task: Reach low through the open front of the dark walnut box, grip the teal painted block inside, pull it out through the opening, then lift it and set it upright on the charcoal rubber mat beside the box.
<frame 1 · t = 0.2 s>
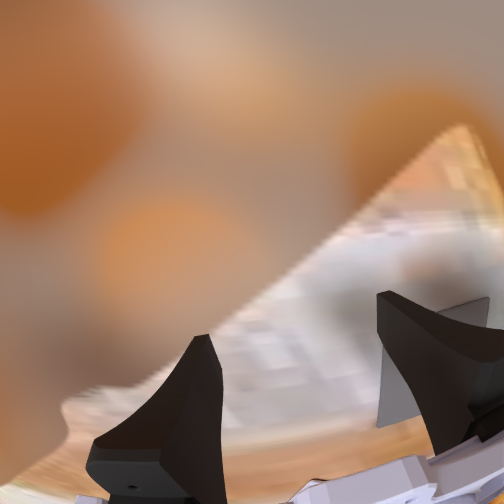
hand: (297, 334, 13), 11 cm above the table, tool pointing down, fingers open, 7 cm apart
charcoal mat: (435, 365, 26), on the table
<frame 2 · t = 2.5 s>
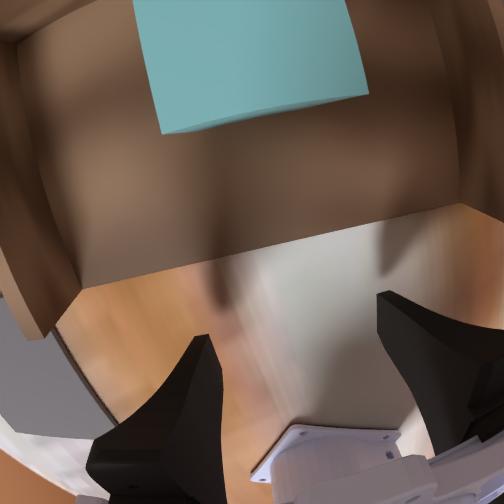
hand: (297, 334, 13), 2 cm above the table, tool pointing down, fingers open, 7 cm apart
walnut box: (241, 83, 11), on the table
teal block: (238, 68, 10), point 1 cm above the table, touching walnut box
charcoal mat: (19, 378, 16), on the table
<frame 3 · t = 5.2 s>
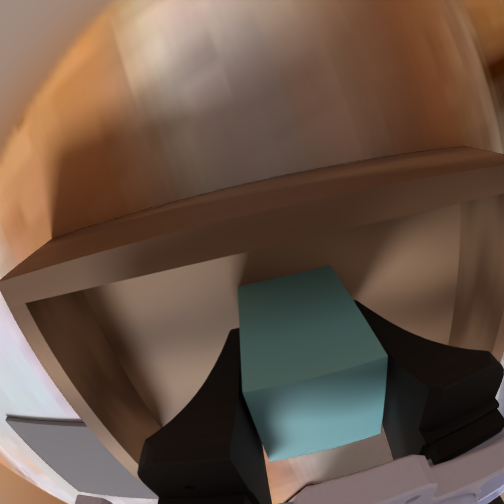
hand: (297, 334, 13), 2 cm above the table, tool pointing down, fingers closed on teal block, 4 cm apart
walnut box: (291, 316, 15), on the table
teal block: (292, 315, 14), point 1 cm above the table, touching gripper, walnut box
charcoal mat: (92, 464, 20), on the table
pen holder: (468, 490, 33), on the table
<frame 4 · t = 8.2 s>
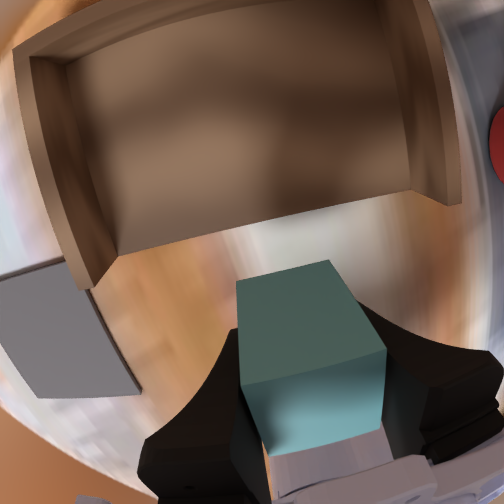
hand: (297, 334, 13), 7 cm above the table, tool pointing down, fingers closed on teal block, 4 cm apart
walnut box: (240, 104, 16), on the table
teal block: (290, 309, 14), point 6 cm above the table, touching gripper
charcoal mat: (49, 342, 21), on the table
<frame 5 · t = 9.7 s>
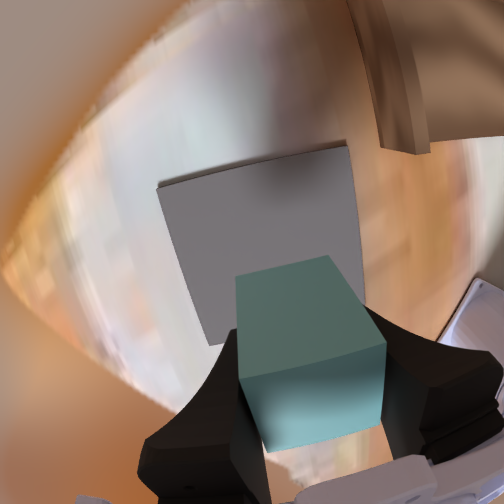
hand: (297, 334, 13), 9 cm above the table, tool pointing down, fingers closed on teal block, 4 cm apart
walnut box: (471, 55, 16), on the table
teal block: (290, 305, 14), point 7 cm above the table, touching gripper
charcoal mat: (272, 253, 21), on the table
when the fingers open (3 cm above the table, at t = 11.2 s): teal block drops 1 cm, resting on charcoal mat.
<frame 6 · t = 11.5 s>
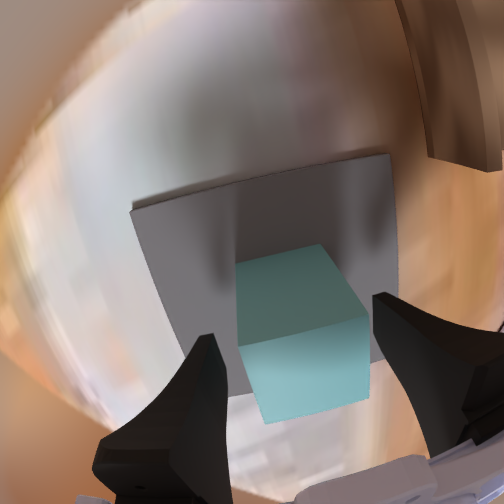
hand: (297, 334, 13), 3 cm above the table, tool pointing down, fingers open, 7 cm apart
teal block: (285, 291, 15), resting on charcoal mat
charcoal mat: (286, 295, 16), on the table
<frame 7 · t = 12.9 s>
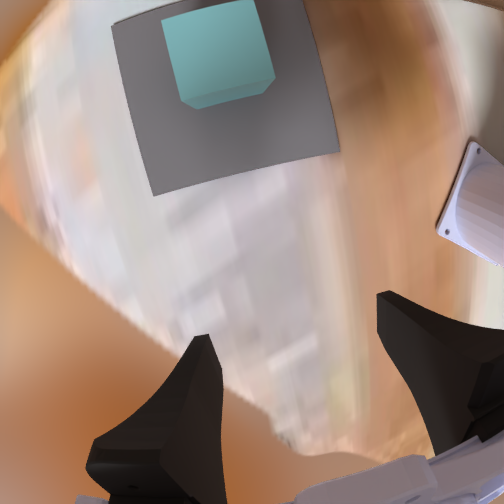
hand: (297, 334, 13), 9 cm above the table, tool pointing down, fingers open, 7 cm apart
teal block: (221, 70, 17), resting on charcoal mat
charcoal mat: (223, 78, 17), on the table
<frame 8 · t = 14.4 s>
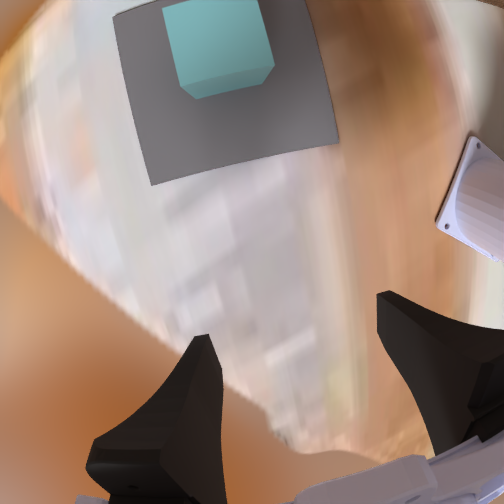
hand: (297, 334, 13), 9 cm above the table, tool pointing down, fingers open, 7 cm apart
teal block: (221, 61, 16), resting on charcoal mat
charcoal mat: (223, 69, 17), on the table
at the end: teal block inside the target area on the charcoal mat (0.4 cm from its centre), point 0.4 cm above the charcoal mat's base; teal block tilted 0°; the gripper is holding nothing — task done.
